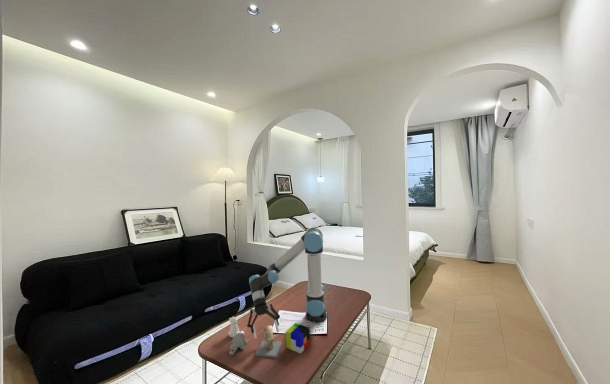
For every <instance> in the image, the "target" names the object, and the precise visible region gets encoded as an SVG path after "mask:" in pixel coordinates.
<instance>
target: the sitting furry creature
mask: <svg viewBox="0 0 610 384" xmlns="http://www.w3.org/2000/svg"><path fill="white" fill-rule="evenodd" d="M228 320H229V323H230V324H231V325H230V328H229V331H228V336H229V337H230V338H232V339H233V338H234V336H235V335H236V334H238V333H242V334H244V335H245V331H243V330H241V331H240V328H239V325H238V321H237V318H236V317H235V316H232V317H229V319H228Z"/></svg>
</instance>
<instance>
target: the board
mask: <svg viewBox="0 0 610 384" xmlns="http://www.w3.org/2000/svg"><path fill="white" fill-rule="evenodd" d="M282 344H283V342H282V341H278V340H276V341H274V340H273V349H272V350H265V345H264V339H262V341H261V343H260V345H259V347H257V348H258V349H256V352H255V353H254V354H255V356H257V357H264V358H265V357H266V358H275V359H276V358H277V357H278V354H279V352H280V350H281V347H282Z"/></svg>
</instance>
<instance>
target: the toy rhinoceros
mask: <svg viewBox="0 0 610 384" xmlns="http://www.w3.org/2000/svg"><path fill="white" fill-rule="evenodd" d="M248 343H249V341H248V340H247V339H246V336H245V333H244V334H242V333H238V334H236V335H235V336H234V338H232V344H229V349H230V351H229V353H228V354H230V355H231V356H234V355H235V354H236V352H237V350H238V349H240V350H244V349H245V346H246V345H248Z"/></svg>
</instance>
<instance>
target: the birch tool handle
mask: <svg viewBox="0 0 610 384" xmlns="http://www.w3.org/2000/svg"><path fill="white" fill-rule="evenodd" d="M273 329H274V328H273V325H269V324H268V325H265V326H264V327H263V340H264V345H265V350H272V349H273V341H274V335H273V334H274V331H273Z"/></svg>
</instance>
